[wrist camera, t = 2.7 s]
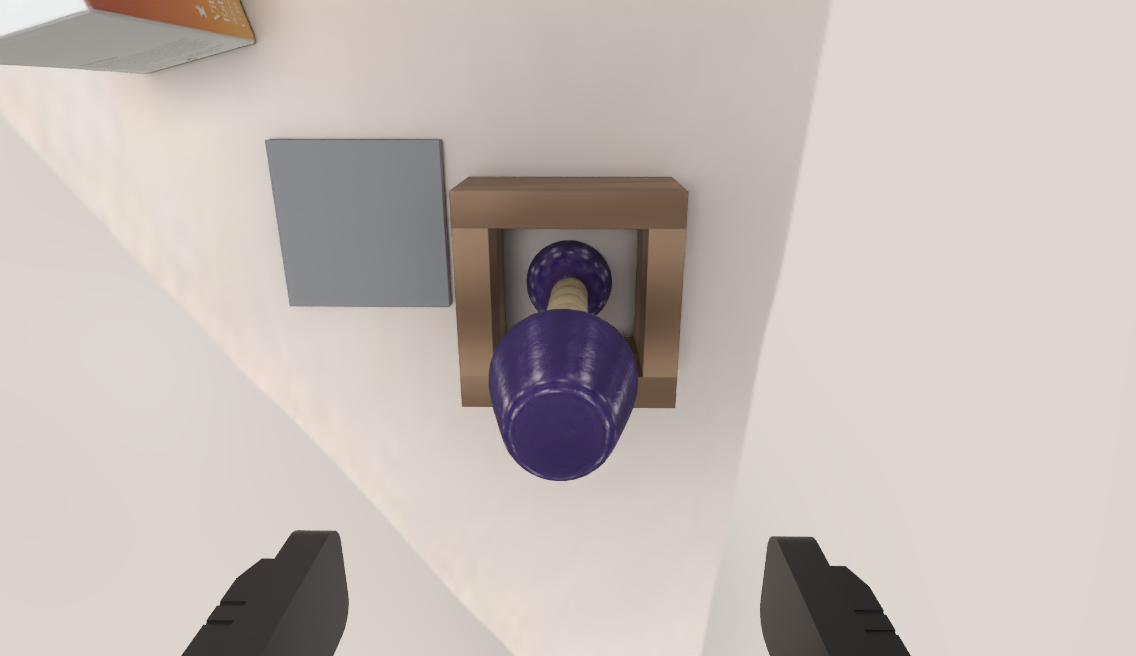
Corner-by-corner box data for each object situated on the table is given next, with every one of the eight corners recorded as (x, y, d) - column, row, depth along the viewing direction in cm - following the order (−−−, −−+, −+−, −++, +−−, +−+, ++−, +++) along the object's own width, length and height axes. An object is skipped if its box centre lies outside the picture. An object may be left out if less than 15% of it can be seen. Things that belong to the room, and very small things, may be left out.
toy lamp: (504, 257, 32) (433, 410, 16) (587, 210, 31) (595, 324, 16) (554, 336, 34) (531, 547, 18) (633, 292, 33) (684, 475, 17)
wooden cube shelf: (468, 176, 31) (448, 191, 26) (671, 177, 31) (688, 191, 26) (478, 363, 34) (462, 406, 29) (661, 364, 34) (675, 408, 29)
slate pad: (270, 139, 30) (264, 140, 30) (441, 139, 30) (438, 140, 30) (294, 302, 33) (289, 306, 33) (451, 303, 33) (449, 306, 32)
